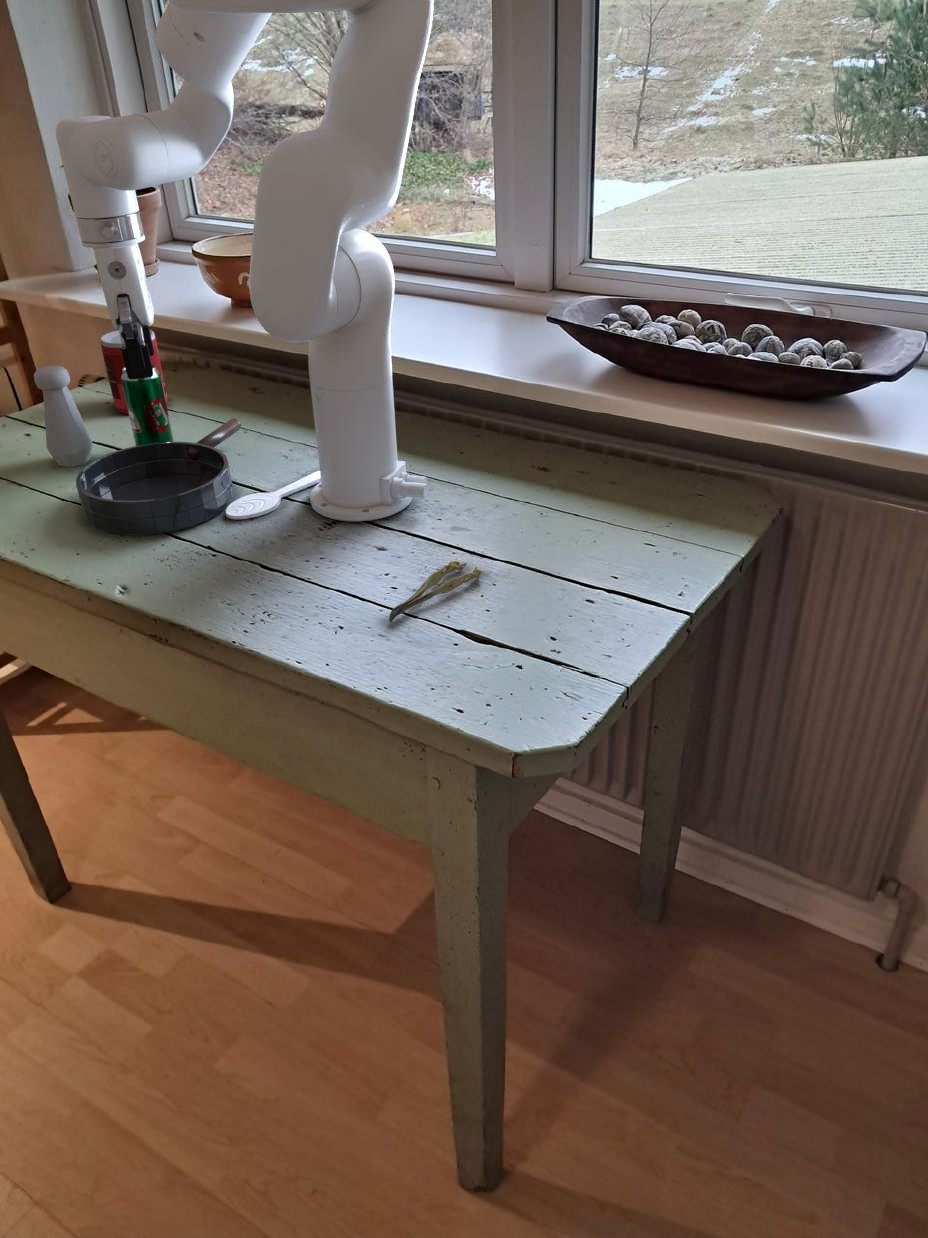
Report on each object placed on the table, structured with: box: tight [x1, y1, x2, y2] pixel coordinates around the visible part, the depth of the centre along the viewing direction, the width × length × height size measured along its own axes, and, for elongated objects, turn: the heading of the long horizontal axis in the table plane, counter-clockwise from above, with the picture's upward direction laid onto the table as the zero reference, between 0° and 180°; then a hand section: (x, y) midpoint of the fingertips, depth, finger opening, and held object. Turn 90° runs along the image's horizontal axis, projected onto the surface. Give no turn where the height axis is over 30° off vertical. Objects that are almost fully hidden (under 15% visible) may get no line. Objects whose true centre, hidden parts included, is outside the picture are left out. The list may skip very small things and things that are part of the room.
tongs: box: [388, 560, 484, 624], centre depth 99 cm, size 4×13×2 cm, turn 145°
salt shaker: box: [33, 365, 93, 468], centre depth 129 cm, size 6×6×13 cm
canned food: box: [99, 329, 168, 415], centre depth 147 cm, size 8×8×11 cm
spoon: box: [225, 469, 321, 520], centre depth 122 cm, size 5×18×1 cm, turn 139°
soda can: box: [121, 363, 175, 446], centre depth 131 cm, size 5×5×12 cm
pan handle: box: [187, 418, 242, 460], centre depth 129 cm, size 2×12×2 cm, turn 161°
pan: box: [75, 441, 234, 536], centre depth 119 cm, size 18×18×4 cm
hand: (142, 366), depth 127 cm, fingers open, 9 cm apart
